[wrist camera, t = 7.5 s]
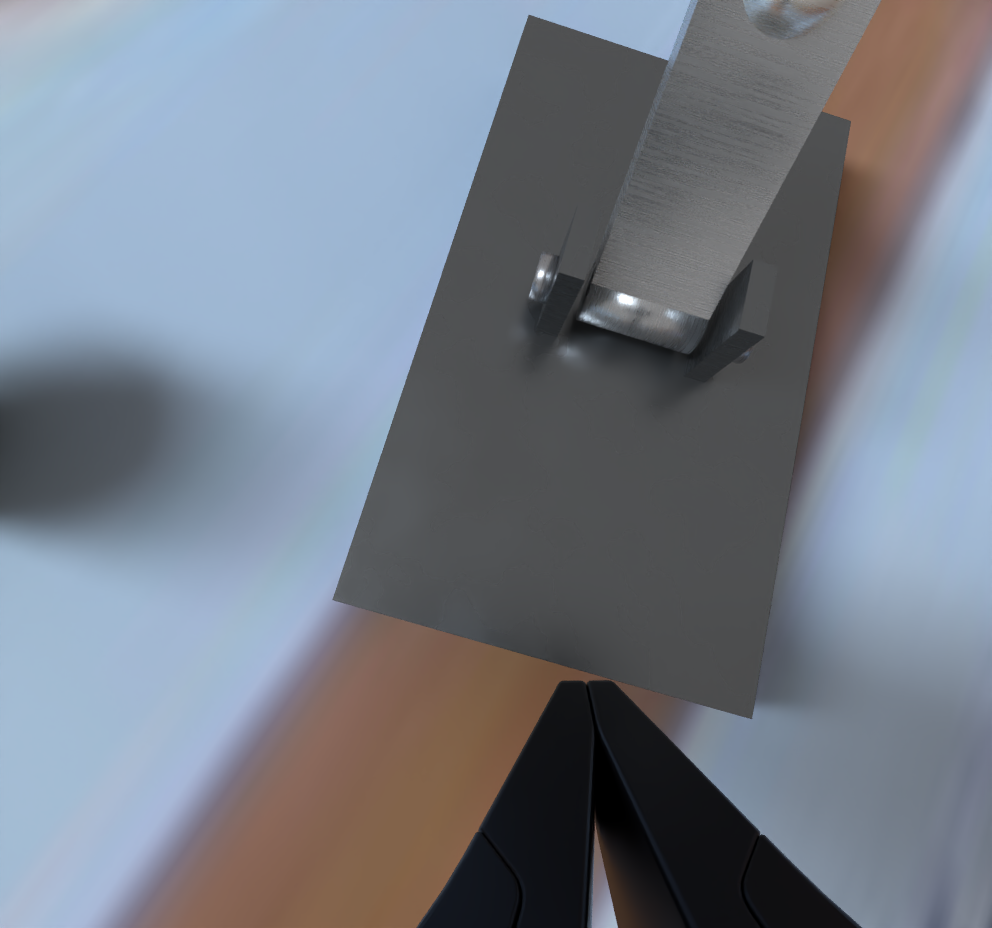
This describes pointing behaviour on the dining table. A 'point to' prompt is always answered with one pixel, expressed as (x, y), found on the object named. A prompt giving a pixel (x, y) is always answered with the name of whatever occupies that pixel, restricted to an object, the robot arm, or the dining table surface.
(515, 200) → the lever base
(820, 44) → the lever
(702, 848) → the robot arm
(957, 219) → the dining table surface
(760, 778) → the dining table surface
